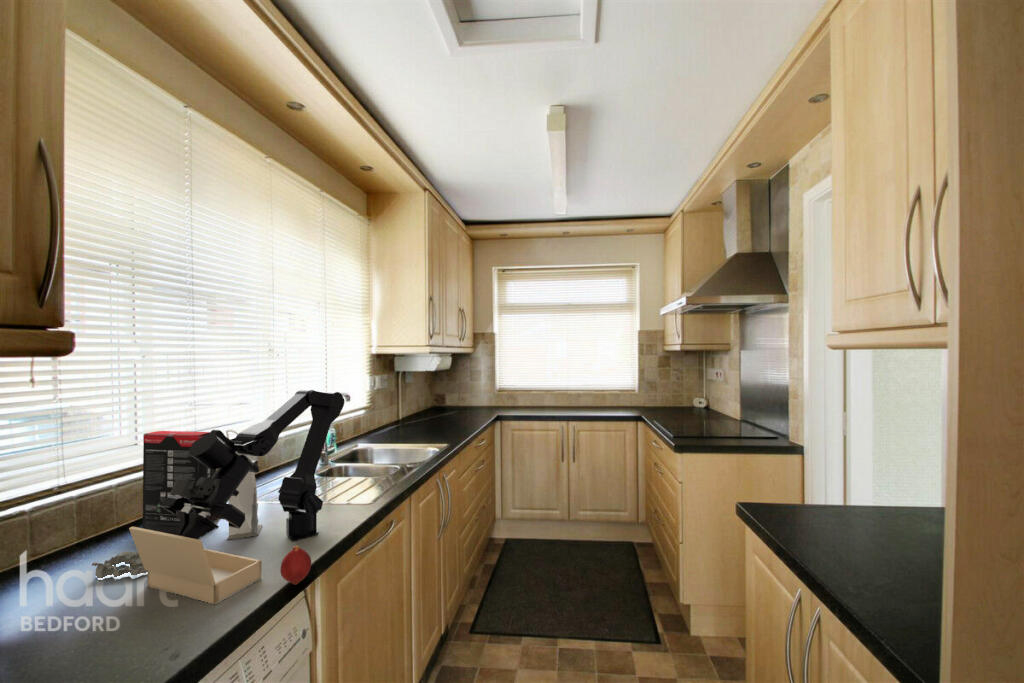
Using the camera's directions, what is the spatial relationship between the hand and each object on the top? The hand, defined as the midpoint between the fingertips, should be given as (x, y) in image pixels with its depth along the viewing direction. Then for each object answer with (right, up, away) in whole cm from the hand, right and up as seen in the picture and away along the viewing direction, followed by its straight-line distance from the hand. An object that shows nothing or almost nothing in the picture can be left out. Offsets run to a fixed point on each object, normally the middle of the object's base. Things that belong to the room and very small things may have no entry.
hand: (172, 553), depth 86 cm
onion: (+22, -9, +5) cm, 24 cm away
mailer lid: (0, 0, 0) cm, 0 cm away
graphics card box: (-24, -10, +32) cm, 41 cm away
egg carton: (-18, -10, +11) cm, 24 cm away
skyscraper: (-6, -10, +32) cm, 34 cm away
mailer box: (+2, -9, +6) cm, 11 cm away
